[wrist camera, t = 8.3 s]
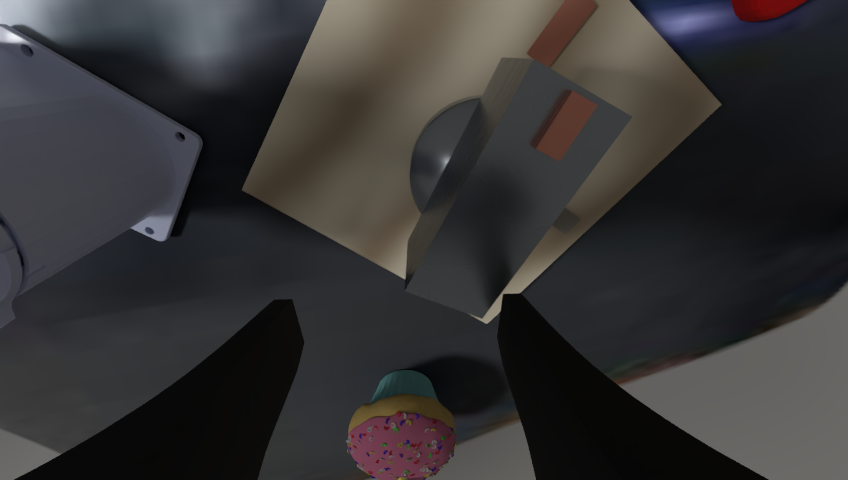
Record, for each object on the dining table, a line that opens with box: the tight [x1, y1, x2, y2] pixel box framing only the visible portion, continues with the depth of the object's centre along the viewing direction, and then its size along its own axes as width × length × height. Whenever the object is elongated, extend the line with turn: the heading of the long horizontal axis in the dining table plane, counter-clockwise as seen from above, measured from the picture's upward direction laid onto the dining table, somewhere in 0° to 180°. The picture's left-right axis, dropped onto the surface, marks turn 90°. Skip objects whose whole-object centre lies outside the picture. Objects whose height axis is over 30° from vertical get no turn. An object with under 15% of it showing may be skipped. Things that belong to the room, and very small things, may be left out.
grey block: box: [405, 57, 632, 318], centre depth 12 cm, size 8×6×5 cm
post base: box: [242, 0, 722, 324], centre depth 17 cm, size 18×18×4 cm
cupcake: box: [346, 370, 456, 480], centre depth 24 cm, size 9×8×12 cm
